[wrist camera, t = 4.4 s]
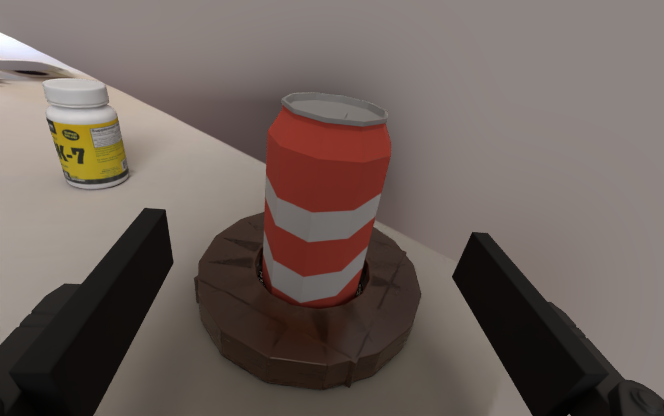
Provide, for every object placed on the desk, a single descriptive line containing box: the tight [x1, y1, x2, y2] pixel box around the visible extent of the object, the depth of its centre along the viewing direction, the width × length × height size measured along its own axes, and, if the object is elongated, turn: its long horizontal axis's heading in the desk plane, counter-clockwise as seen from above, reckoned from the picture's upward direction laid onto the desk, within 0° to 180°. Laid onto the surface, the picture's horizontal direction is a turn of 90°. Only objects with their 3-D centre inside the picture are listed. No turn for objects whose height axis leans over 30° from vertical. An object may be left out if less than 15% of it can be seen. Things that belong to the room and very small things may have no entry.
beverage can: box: [262, 92, 391, 309], centre depth 18 cm, size 6×6×12 cm
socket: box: [194, 212, 421, 390], centre depth 21 cm, size 14×14×2 cm
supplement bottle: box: [43, 78, 129, 189], centre depth 27 cm, size 5×5×8 cm
